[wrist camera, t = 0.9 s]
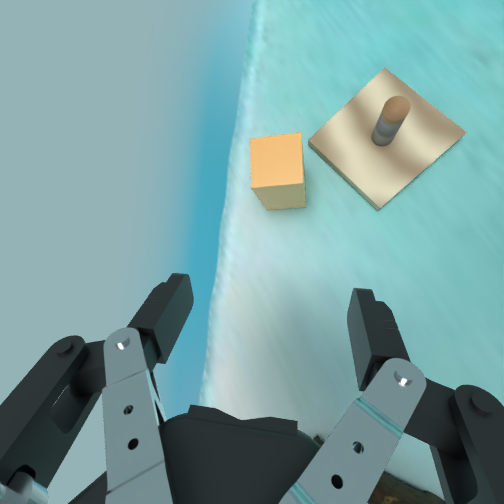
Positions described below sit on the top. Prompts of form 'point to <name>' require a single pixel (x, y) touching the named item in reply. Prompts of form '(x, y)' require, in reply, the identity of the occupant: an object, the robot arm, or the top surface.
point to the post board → (387, 160)
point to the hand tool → (397, 491)
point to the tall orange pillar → (278, 171)
